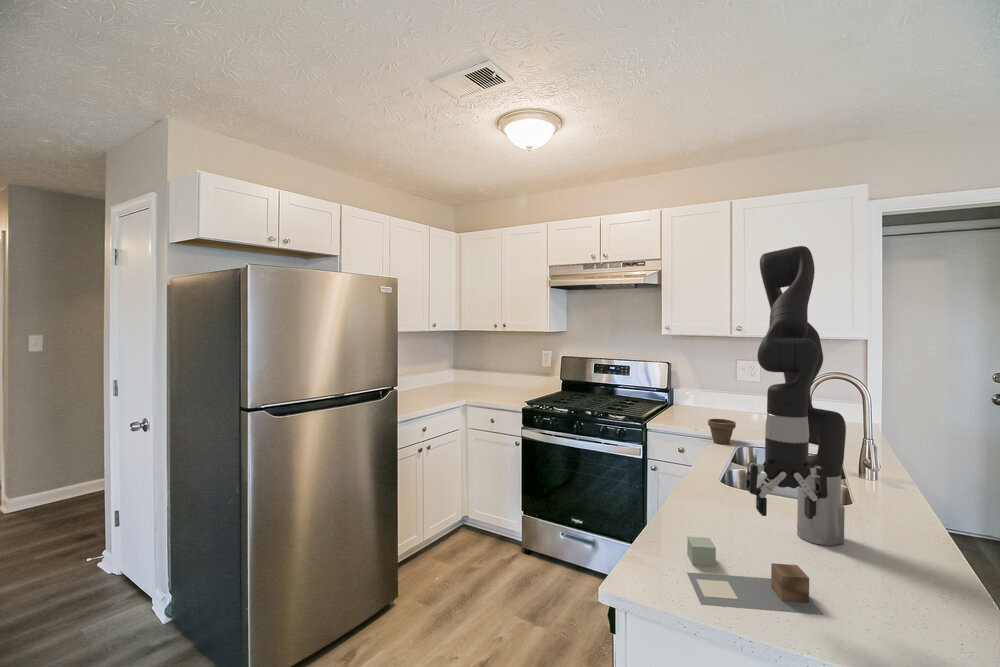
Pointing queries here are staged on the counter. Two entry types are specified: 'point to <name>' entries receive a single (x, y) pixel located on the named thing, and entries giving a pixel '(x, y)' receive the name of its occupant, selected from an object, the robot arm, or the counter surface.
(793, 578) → the walnut block
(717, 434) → the flower pot
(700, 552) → the sage block
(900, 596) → the counter surface
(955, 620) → the counter surface
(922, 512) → the counter surface
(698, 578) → the build mat
